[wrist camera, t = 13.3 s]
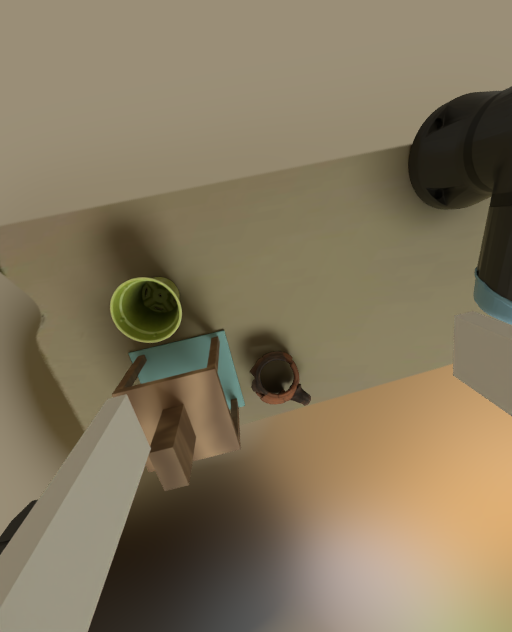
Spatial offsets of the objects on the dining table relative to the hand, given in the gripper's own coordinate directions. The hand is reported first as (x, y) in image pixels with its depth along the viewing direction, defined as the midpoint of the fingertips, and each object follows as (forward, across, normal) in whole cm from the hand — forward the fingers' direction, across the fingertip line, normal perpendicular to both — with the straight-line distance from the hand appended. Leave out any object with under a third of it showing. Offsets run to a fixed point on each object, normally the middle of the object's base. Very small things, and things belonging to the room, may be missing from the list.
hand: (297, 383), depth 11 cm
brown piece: (+36, +15, +19) cm, 44 cm away
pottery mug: (+37, -1, +22) cm, 43 cm away
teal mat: (+37, +15, +19) cm, 44 cm away
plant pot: (+37, +15, +2) cm, 40 cm away
